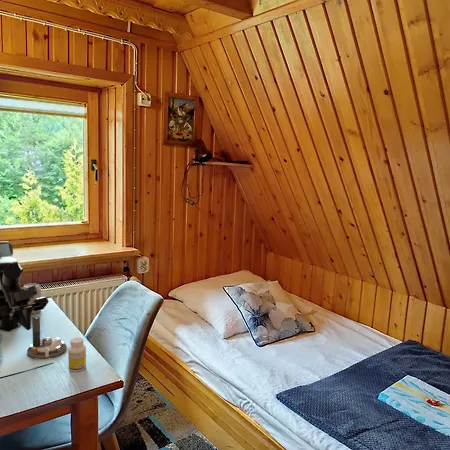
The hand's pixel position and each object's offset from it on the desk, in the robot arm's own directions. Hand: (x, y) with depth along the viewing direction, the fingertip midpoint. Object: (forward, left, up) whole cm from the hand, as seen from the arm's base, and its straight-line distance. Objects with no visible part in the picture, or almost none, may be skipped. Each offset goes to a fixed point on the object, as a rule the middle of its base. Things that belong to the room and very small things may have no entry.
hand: (29, 329), depth 150 cm
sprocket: (+7, +1, -6) cm, 9 cm away
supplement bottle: (+24, -5, -7) cm, 25 cm away
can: (-24, +28, -7) cm, 38 cm away
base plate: (+7, +1, -7) cm, 10 cm away
